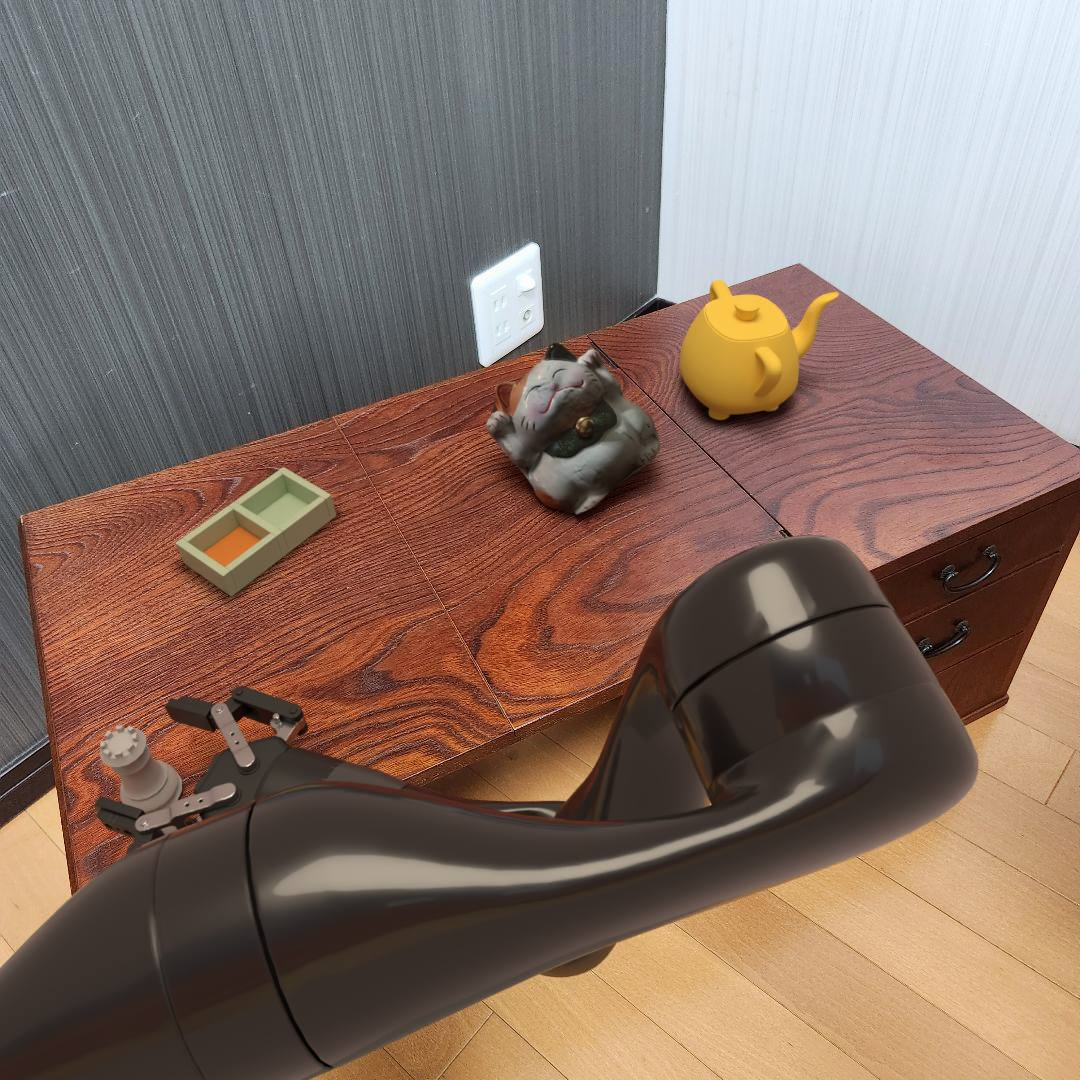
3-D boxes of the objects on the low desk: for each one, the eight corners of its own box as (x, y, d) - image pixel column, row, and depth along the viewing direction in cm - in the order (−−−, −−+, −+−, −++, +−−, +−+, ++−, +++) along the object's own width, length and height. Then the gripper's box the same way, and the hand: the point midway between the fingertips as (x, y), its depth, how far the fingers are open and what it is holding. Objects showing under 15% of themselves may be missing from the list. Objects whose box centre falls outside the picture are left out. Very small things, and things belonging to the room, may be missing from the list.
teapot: (777, 449, 99) (796, 356, 90) (655, 409, 104) (661, 318, 96) (820, 379, 107) (841, 288, 98) (704, 346, 112) (714, 256, 104)
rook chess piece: (195, 792, 72) (163, 736, 67) (146, 833, 70) (107, 779, 64) (163, 759, 74) (128, 702, 69) (113, 798, 72) (73, 743, 66)
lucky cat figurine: (553, 535, 91) (486, 415, 84) (520, 498, 101) (459, 389, 95) (682, 456, 92) (625, 332, 85) (636, 427, 102) (583, 315, 96)
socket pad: (231, 597, 86) (223, 576, 84) (184, 563, 90) (175, 542, 87) (336, 515, 94) (331, 494, 92) (289, 487, 97) (283, 466, 95)
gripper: (371, 702, 66) (175, 650, 70) (271, 890, 57) (51, 818, 60) (387, 758, 71) (204, 706, 75) (298, 938, 62) (94, 868, 66)
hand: (136, 756), depth 68 cm, fingers open, 8 cm apart
